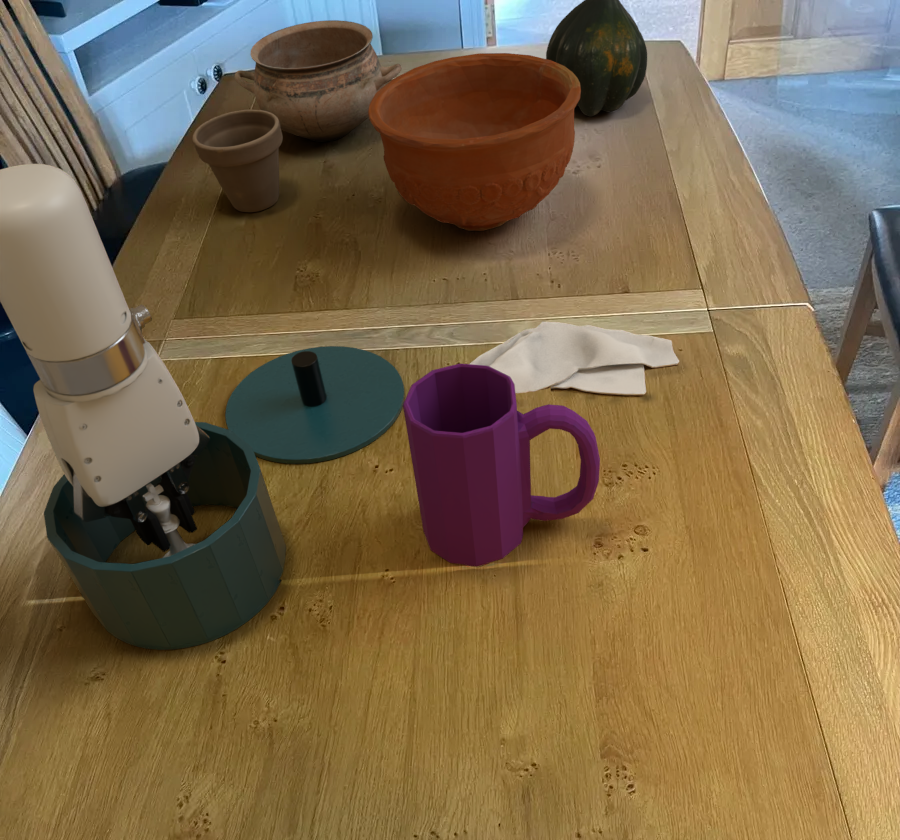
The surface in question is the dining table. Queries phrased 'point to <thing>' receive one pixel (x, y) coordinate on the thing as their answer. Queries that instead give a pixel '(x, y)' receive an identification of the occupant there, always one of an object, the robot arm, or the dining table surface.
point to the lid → (315, 404)
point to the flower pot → (243, 156)
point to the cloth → (579, 358)
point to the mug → (485, 462)
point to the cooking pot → (317, 77)
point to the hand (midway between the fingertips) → (170, 532)
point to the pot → (179, 556)
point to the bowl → (477, 135)
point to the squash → (600, 53)
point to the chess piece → (165, 518)
